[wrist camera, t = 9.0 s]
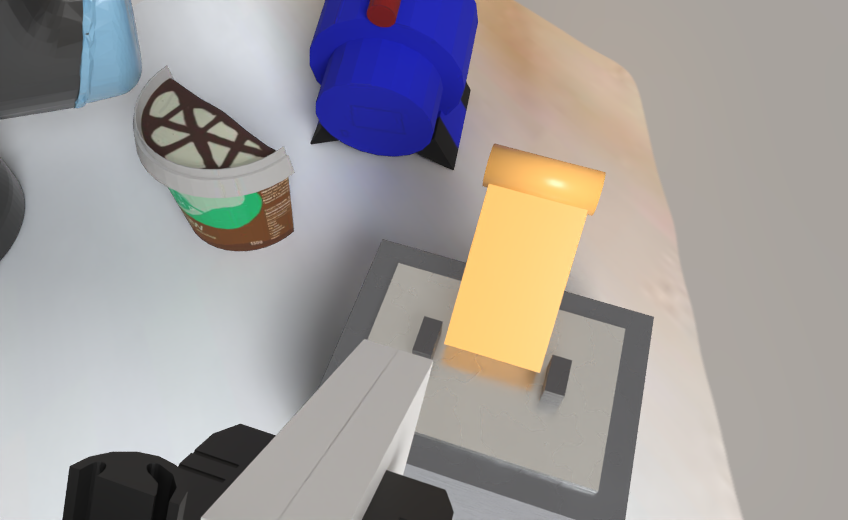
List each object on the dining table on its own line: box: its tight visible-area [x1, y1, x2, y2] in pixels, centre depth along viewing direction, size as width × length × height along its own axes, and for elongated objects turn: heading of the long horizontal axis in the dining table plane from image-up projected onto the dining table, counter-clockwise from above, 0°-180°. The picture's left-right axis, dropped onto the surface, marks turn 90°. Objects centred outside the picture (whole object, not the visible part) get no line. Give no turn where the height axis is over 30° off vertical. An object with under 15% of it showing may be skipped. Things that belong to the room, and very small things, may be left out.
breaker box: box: [318, 239, 654, 520], centre depth 38 cm, size 12×16×11 cm
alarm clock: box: [310, 0, 478, 170], centre depth 50 cm, size 12×12×15 cm
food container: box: [133, 66, 295, 251], centre depth 46 cm, size 12×6×10 cm, turn 51°
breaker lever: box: [444, 144, 605, 373], centre depth 33 cm, size 2×6×10 cm
